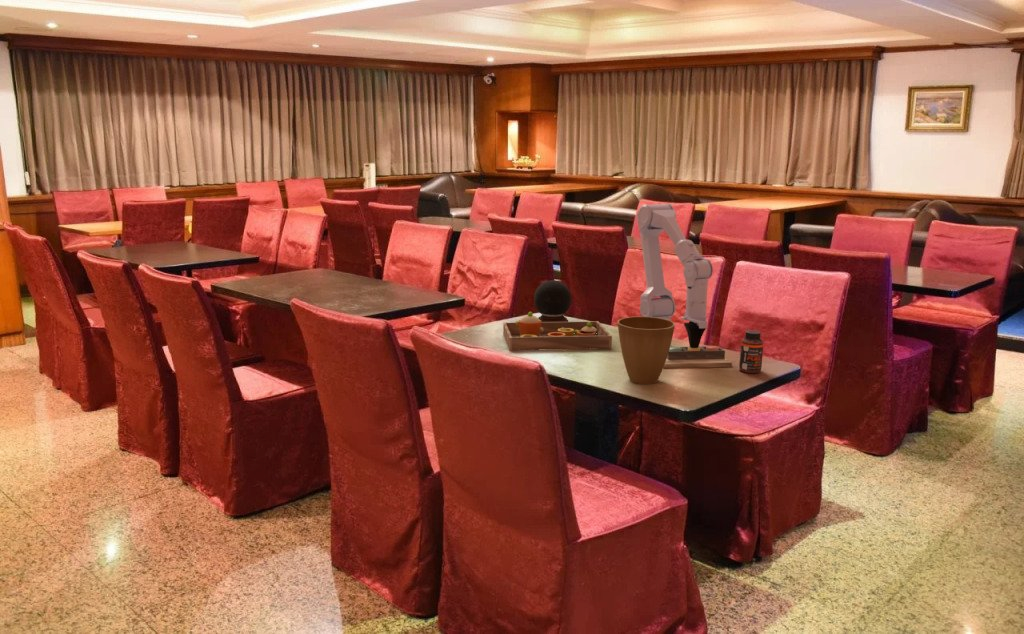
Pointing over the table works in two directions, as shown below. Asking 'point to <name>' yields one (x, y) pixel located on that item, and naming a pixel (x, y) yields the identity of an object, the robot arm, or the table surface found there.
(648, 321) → the plant pot
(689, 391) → the table surface
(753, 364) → the supplement bottle
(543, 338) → the tea set tray rim
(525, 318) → the toy tea set
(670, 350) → the teal button
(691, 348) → the ochre button
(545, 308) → the dark fuzzy ball
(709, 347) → the brick button
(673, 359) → the button board
